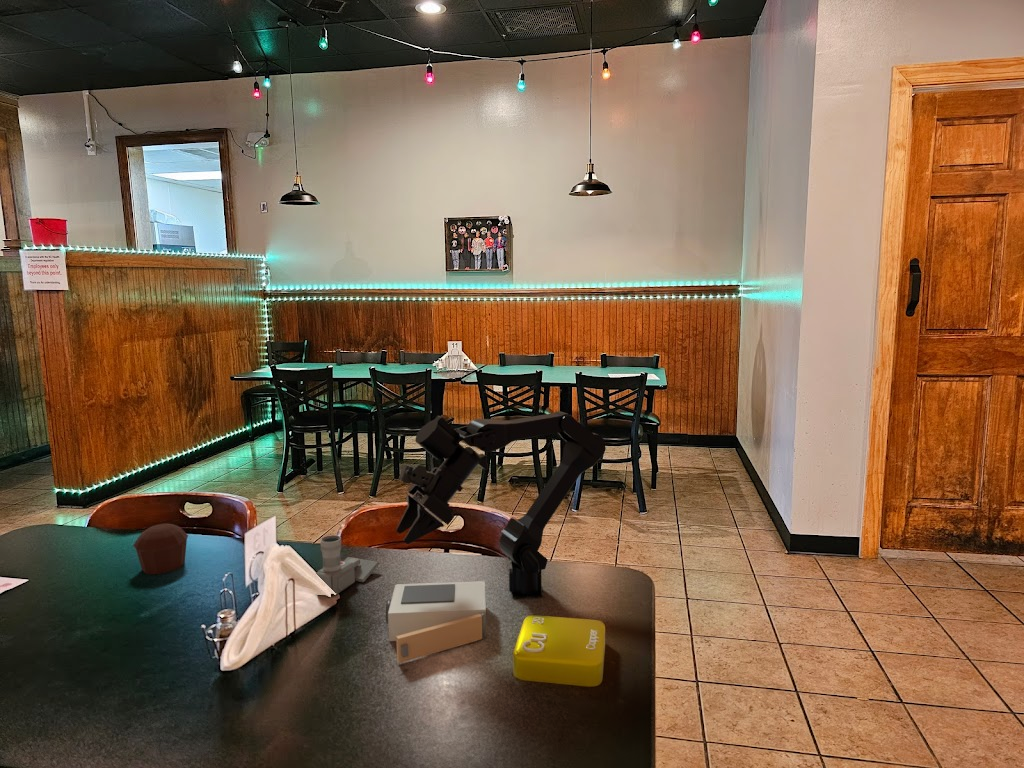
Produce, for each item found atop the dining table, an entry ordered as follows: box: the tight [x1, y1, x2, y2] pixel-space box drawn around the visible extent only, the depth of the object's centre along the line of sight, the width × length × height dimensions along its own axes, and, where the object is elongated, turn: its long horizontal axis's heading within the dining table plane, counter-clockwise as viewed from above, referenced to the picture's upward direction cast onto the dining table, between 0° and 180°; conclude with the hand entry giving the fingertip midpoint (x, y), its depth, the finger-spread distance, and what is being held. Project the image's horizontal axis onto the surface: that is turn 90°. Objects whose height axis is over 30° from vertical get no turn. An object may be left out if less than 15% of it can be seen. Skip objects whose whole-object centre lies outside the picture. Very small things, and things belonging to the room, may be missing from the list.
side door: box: [395, 613, 487, 664], centre depth 117 cm, size 17×2×4 cm, turn 118°
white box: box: [385, 580, 487, 642], centre depth 127 cm, size 19×12×6 cm, turn 93°
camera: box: [315, 534, 381, 595], centre depth 145 cm, size 9×12×15 cm
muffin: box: [132, 523, 189, 575], centre depth 155 cm, size 12×11×10 cm
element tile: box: [512, 614, 606, 688], centre depth 115 cm, size 15×15×5 cm
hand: (401, 537), depth 126 cm, fingers open, 9 cm apart
